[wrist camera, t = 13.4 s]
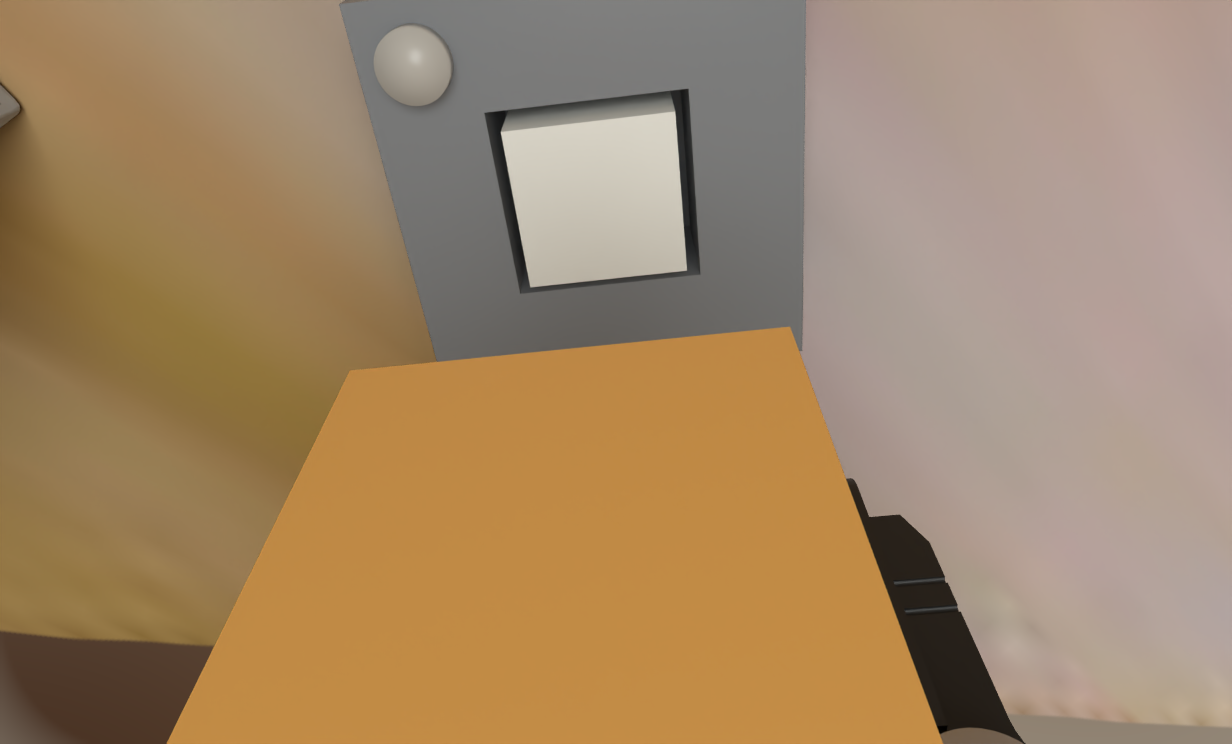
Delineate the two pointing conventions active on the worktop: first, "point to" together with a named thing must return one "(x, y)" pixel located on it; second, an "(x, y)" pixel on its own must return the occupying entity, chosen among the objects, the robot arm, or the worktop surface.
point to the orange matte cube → (568, 564)
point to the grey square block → (571, 72)
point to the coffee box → (7, 107)
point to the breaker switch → (597, 188)
